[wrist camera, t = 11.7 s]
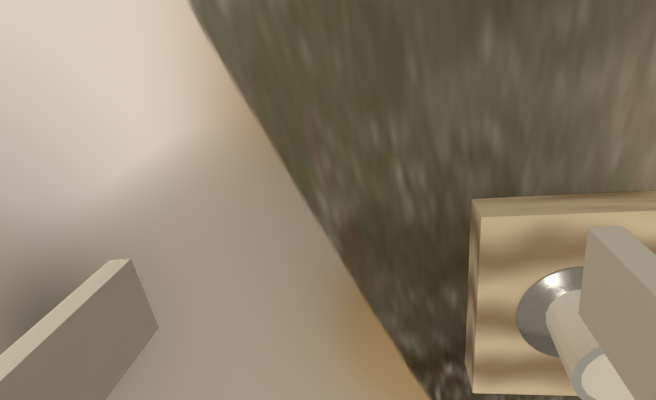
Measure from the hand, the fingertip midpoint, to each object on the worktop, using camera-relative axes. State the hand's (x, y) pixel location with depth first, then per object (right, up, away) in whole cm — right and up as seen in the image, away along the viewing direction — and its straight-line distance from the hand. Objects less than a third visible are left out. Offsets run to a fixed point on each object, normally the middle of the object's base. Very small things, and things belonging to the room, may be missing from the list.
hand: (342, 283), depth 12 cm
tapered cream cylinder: (+22, -8, +24) cm, 33 cm away
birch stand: (+22, -6, +28) cm, 36 cm away
